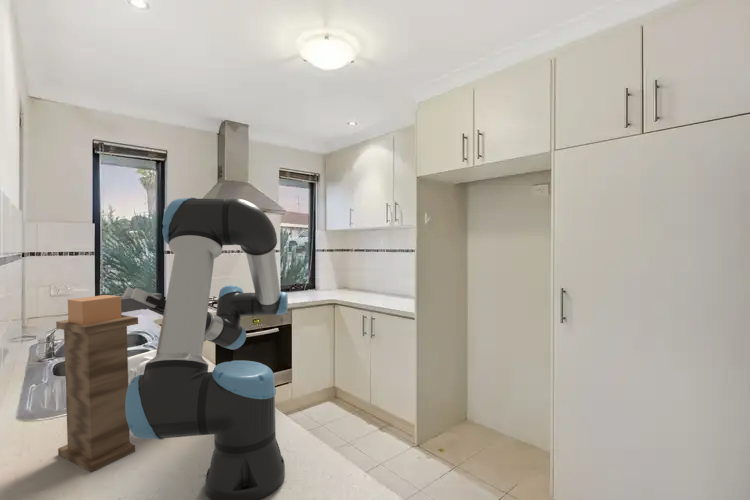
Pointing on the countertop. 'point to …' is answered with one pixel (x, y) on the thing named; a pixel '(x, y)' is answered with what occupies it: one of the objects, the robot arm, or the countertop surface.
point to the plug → (102, 308)
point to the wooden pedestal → (96, 392)
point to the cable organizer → (138, 364)
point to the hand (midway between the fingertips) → (129, 292)
